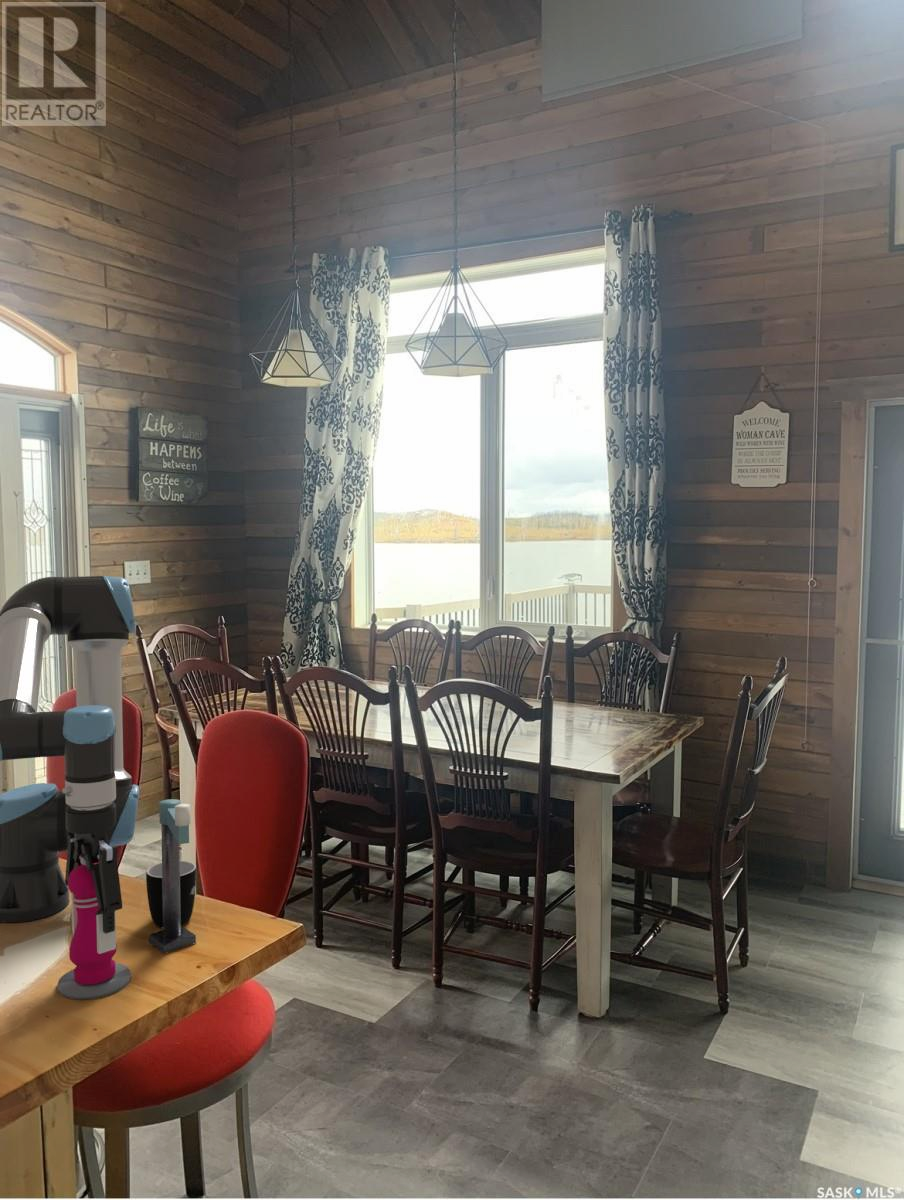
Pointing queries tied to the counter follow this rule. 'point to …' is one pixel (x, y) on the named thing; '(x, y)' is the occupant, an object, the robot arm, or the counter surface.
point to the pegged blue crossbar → (176, 818)
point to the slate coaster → (94, 985)
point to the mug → (157, 895)
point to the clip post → (171, 899)
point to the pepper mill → (87, 931)
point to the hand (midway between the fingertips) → (93, 940)
